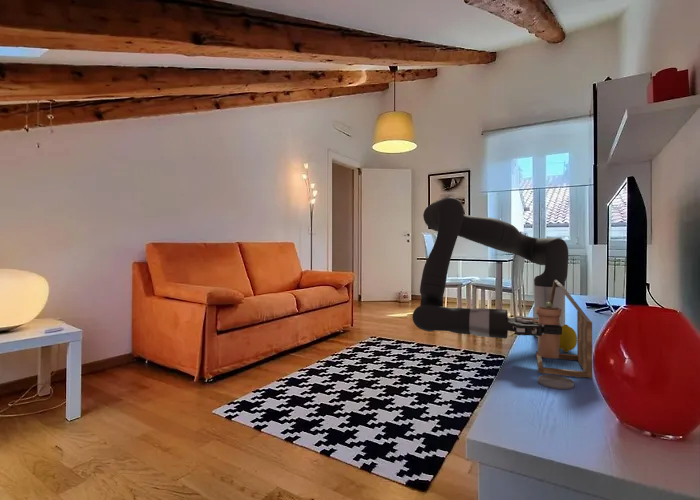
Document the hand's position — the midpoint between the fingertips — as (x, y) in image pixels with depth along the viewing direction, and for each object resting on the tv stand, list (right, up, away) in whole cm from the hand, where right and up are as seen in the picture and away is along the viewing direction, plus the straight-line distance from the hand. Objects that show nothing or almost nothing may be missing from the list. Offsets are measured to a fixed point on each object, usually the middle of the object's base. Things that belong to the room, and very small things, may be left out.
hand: (560, 328), depth 95 cm
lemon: (+9, -10, +14) cm, 20 cm away
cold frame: (+1, -10, +2) cm, 10 cm away
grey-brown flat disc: (-7, -10, -11) cm, 16 cm away
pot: (-2, -7, +1) cm, 8 cm away
